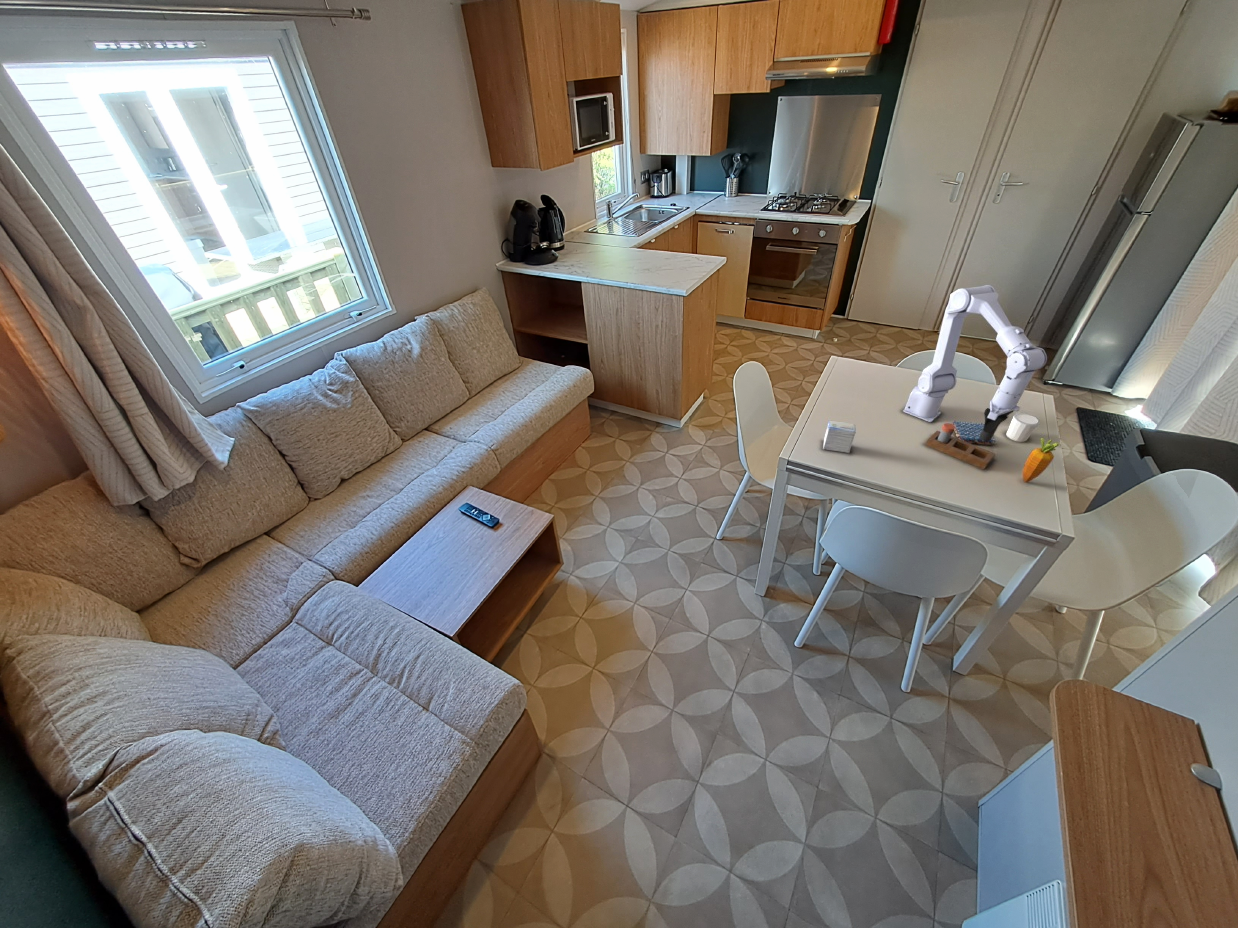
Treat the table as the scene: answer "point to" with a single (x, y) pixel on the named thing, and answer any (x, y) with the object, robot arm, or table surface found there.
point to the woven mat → (970, 432)
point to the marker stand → (962, 450)
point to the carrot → (1038, 461)
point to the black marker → (987, 435)
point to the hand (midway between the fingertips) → (989, 429)
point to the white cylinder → (1022, 427)
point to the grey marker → (946, 433)
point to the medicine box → (839, 436)
